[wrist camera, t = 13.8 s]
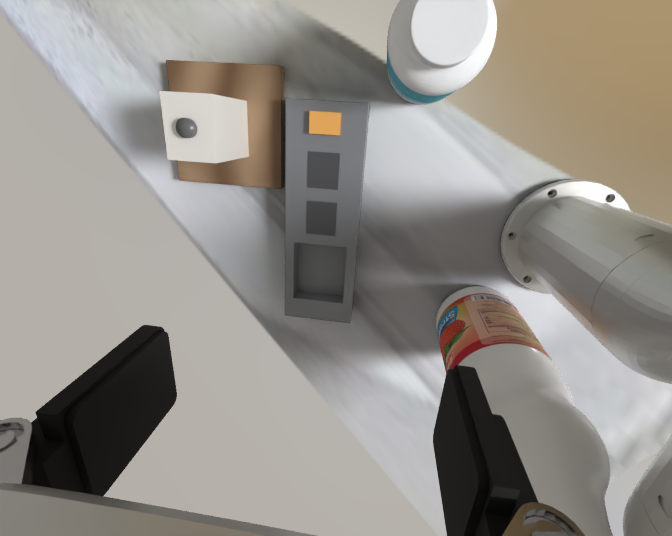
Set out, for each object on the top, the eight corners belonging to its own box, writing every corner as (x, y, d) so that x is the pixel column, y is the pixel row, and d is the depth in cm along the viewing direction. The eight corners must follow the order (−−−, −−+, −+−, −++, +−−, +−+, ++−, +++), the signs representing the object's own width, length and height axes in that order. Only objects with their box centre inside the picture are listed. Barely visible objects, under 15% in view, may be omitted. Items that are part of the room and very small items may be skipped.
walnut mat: (284, 67, 35) (280, 65, 34) (283, 187, 40) (280, 188, 39) (172, 62, 37) (166, 60, 35) (184, 178, 41) (179, 180, 40)
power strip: (369, 105, 36) (368, 102, 32) (351, 311, 45) (349, 325, 41) (293, 100, 36) (284, 97, 33) (291, 303, 45) (283, 317, 42)
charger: (246, 100, 36) (207, 93, 28) (248, 156, 38) (212, 164, 30) (205, 98, 36) (154, 90, 28) (209, 153, 38) (163, 160, 30)
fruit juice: (520, 342, 43) (711, 665, 18) (443, 356, 45) (512, 658, 20) (509, 275, 40) (722, 548, 14) (427, 293, 42) (484, 556, 17)
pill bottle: (453, 110, 35) (491, 99, 22) (380, 99, 35) (377, 83, 23) (475, 21, 32) (533, -48, 19) (395, 11, 32) (401, -63, 20)
